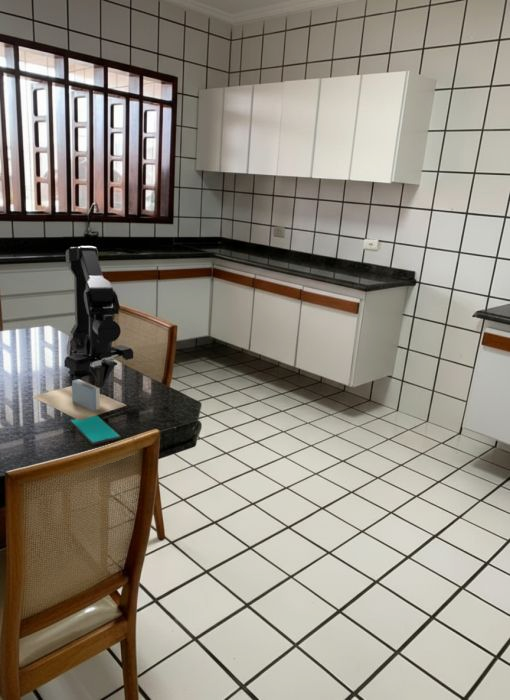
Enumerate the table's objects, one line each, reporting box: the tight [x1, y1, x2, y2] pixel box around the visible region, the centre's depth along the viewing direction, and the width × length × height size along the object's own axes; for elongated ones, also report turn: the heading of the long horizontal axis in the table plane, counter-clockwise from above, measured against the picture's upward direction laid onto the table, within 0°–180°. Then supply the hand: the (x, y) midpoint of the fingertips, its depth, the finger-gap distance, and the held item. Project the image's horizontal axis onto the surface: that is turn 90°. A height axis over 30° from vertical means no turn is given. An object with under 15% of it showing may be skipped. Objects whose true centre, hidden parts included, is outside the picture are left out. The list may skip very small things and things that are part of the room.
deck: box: [71, 378, 101, 411], centre depth 144 cm, size 2×9×6 cm, turn 52°
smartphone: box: [69, 415, 122, 446], centre depth 132 cm, size 7×1×15 cm
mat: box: [31, 385, 127, 420], centre depth 148 cm, size 15×22×1 cm
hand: (100, 387), depth 147 cm, fingers closed
